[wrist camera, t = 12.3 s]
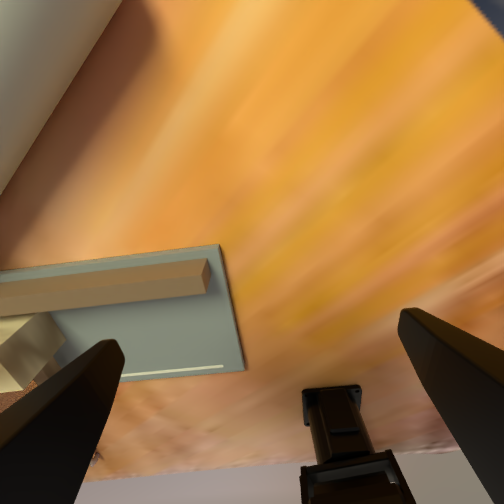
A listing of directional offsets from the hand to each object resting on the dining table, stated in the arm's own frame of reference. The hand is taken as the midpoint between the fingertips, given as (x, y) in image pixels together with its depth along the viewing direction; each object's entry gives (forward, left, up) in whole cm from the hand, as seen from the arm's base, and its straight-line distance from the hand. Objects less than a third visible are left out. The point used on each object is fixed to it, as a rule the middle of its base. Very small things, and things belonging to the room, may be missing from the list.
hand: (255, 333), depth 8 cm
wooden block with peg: (-11, +21, -11) cm, 26 cm away
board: (-9, +14, -12) cm, 21 cm away
